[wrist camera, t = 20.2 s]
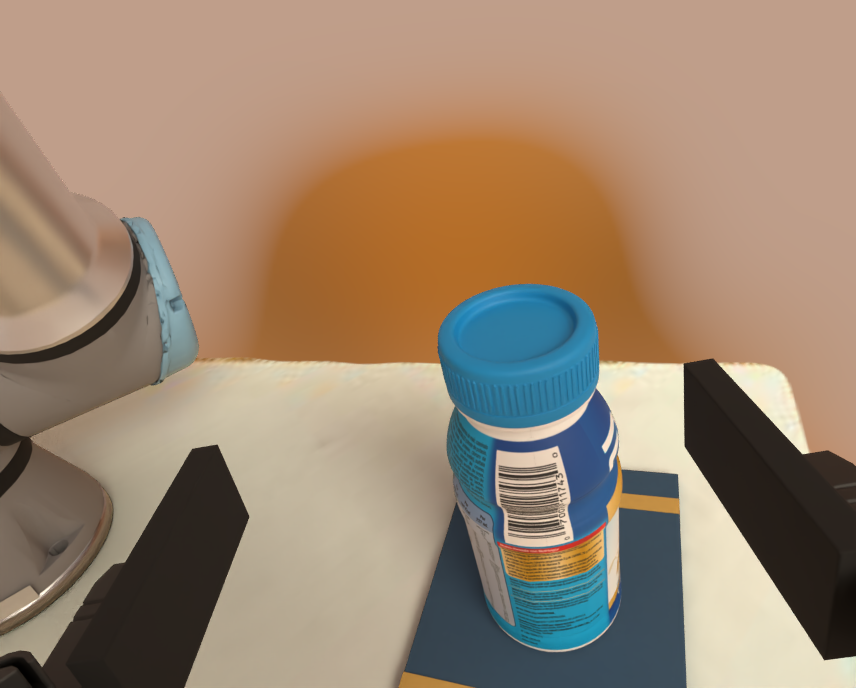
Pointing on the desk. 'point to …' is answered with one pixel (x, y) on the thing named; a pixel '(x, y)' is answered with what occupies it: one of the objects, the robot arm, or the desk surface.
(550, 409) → the beverage bottle
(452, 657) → the tea towel
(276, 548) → the desk surface
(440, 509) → the desk surface
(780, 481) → the robot arm
